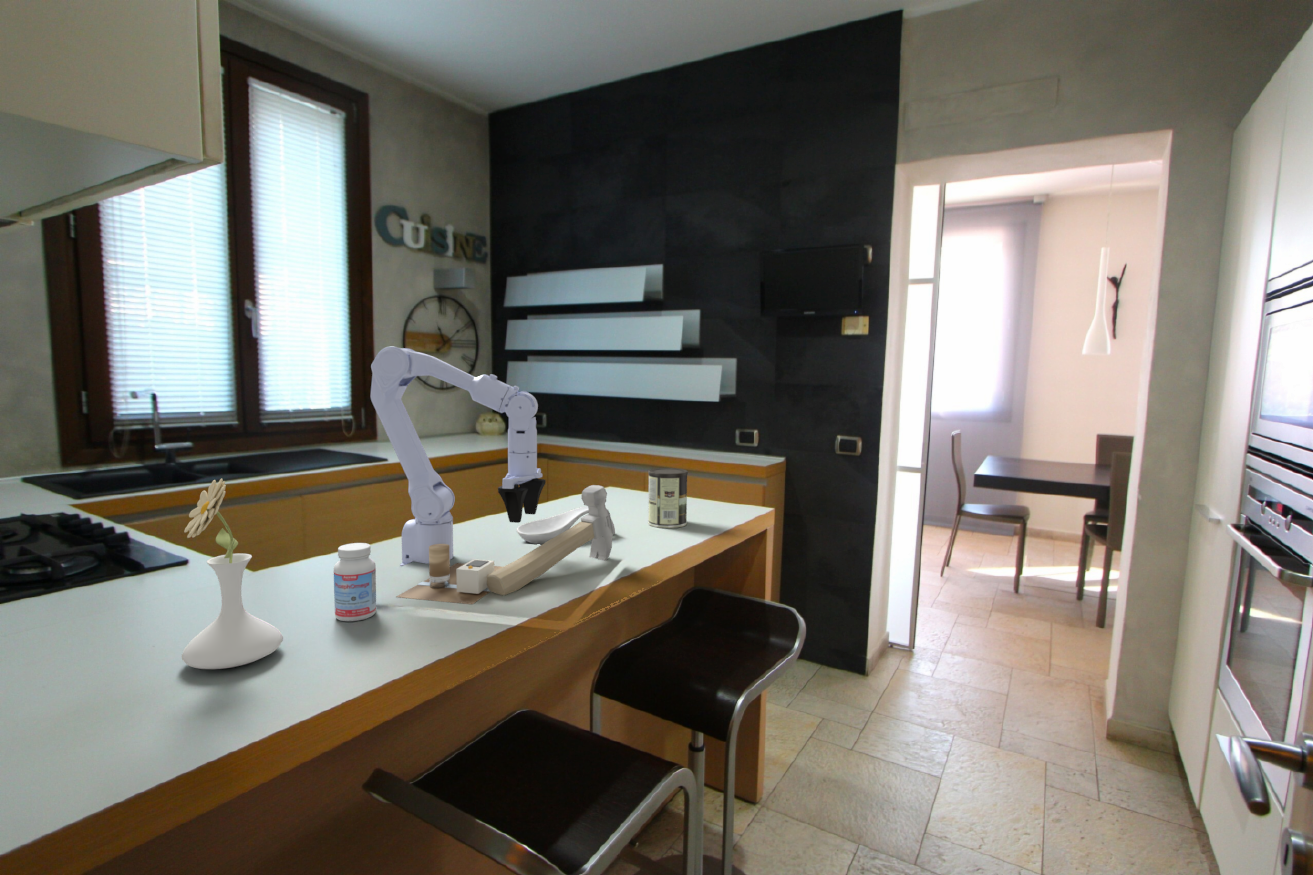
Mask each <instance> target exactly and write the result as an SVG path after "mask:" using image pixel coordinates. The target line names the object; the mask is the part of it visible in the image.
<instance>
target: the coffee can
mask: <svg viewBox="0 0 1313 875" xmlns="http://www.w3.org/2000/svg"><path fill="white" fill-rule="evenodd" d="M688 472H689V471H688V470H687V469H682V468H677V467H676V468H675V467H674V468H671V467H663V468H662V467H660V468H652V469H648V473H647V474H648V520H647V521H648V522H647V524H648V525H649V526H651V527H655V528H659V529H676V528H683V527H686V526H687V524H688V523H687V515H688V514H687V513H688V512H687V510H688V509H687V507H688V498H687V496H688Z"/></svg>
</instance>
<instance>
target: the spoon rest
mask: <svg viewBox="0 0 1313 875" xmlns="http://www.w3.org/2000/svg"><path fill="white" fill-rule="evenodd" d="M588 514H589V509H588V506H580V507H577V508H574V509H571V510H567V511H565V512H563V513H559V514H556V515H553V516H549V517H546V518H541V519H537V520H532V521H530V522H526V523H522V524H520V525H519V526H517V528H516V533H517V534H518V536H519V537H520V538H521V539H523V540H524V541H525V542H527V543H529V544H533V545H537V544H540V545H539V546H541V545H542V544H544V543H546V542H547V541H549V540H550V539H552V538H554V537H556V536H558V535H559V534H561V533H563V532H565V531H566V530H568V529H570V528H572V527H573V526H574V524H575V523H577V522H578V520H579V519H581V518H582V517H584V516H586V515H588ZM611 522H612V529H613V536H614V535H616V528H615V524H614V522H613V519H612V518H611Z"/></svg>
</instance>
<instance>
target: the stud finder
mask: <svg viewBox="0 0 1313 875" xmlns="http://www.w3.org/2000/svg"><path fill="white" fill-rule="evenodd" d="M494 566H495V560H489V559H488V560H487V559H478V558H477V559H475V558H474V559H471V560H470V561H468V562H466V563H464V565H463V566H461V567H459V568H457V569H456V572H457V592H464V593H475V594H479V593H480V592H482V591H483V590H485V589H486V588H488V586H487V575H488V574H490V573H492V572H494Z"/></svg>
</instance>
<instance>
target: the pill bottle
mask: <svg viewBox="0 0 1313 875" xmlns="http://www.w3.org/2000/svg"><path fill="white" fill-rule="evenodd" d="M371 552H372V550H371V544H369V543H366V542H354V543H353V542H351V543H346V544H343V545H340V546H339V547H338V548H337V557H338V559H340V560H338V561H337V562H336V563H334V566H333V593H334V595H333V596H334V602H333V603H334V616H335V618H336V619H337V620H338V621H341V622H358V621H363V620H366V619H369V618H371V617H373V616H374V615H375V613H376V612H377V578H376V577H377V573H376V572H377V570H376V569H377V568H376V561H375V560H374V559H373V558H372V557H370V555H371Z"/></svg>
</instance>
